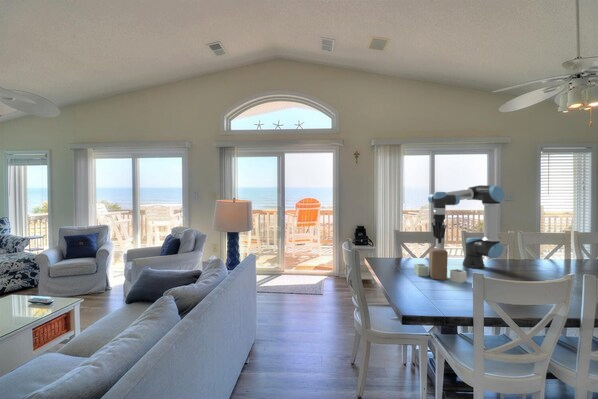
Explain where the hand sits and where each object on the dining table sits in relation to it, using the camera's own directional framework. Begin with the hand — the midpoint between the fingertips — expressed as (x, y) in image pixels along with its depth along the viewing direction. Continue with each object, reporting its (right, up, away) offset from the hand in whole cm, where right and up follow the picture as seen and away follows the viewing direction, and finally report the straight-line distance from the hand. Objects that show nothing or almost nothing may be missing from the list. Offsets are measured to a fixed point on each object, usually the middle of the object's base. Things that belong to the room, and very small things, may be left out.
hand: (438, 247), depth 214 cm
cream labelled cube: (+11, -22, -6) cm, 25 cm away
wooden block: (0, -22, +1) cm, 22 cm away
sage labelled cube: (-9, -21, +8) cm, 24 cm away
